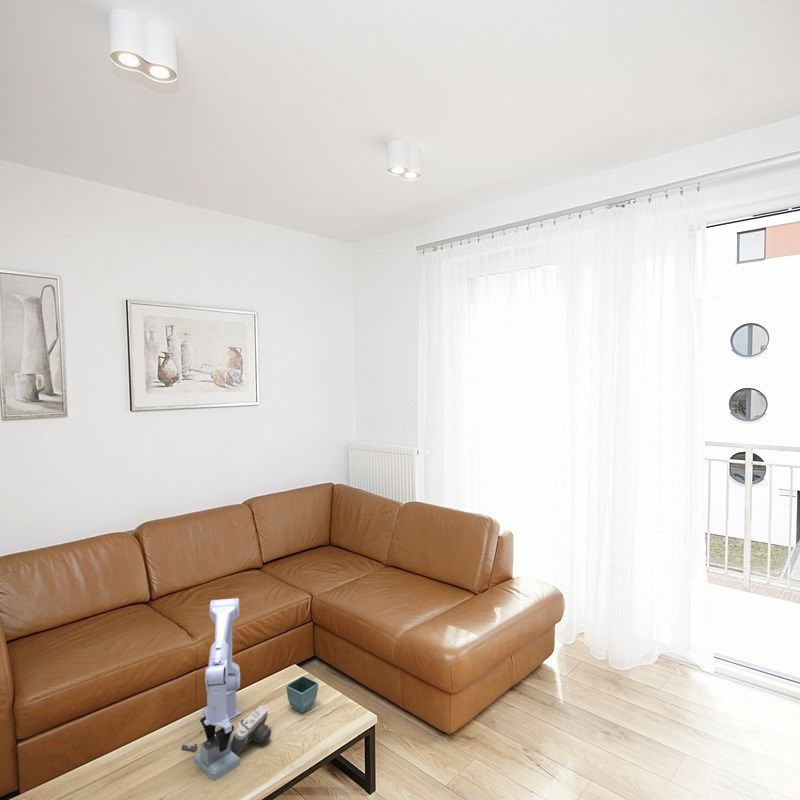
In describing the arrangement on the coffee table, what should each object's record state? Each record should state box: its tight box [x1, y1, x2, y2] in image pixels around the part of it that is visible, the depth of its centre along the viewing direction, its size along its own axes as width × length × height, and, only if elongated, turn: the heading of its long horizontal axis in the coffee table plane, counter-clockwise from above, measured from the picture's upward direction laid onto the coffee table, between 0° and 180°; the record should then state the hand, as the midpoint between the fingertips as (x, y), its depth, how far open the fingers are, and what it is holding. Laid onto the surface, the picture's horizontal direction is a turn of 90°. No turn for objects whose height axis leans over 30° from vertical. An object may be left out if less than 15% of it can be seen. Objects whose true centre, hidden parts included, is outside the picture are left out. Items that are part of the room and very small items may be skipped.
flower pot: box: [285, 675, 319, 714], centre depth 192 cm, size 9×9×9 cm
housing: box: [199, 735, 232, 766], centre depth 163 cm, size 4×8×6 cm, turn 139°
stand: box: [193, 751, 241, 781], centre depth 163 cm, size 12×9×2 cm
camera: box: [231, 704, 272, 755], centre depth 172 cm, size 9×16×10 cm, turn 158°
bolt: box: [181, 743, 198, 752], centre depth 169 cm, size 5×2×2 cm, turn 79°
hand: (216, 744), depth 163 cm, fingers open, 7 cm apart
